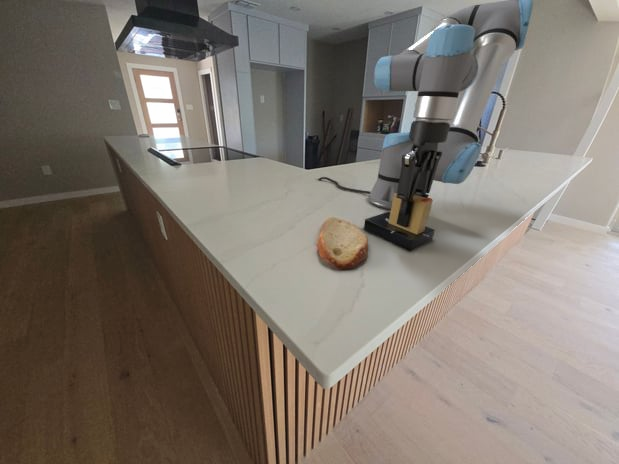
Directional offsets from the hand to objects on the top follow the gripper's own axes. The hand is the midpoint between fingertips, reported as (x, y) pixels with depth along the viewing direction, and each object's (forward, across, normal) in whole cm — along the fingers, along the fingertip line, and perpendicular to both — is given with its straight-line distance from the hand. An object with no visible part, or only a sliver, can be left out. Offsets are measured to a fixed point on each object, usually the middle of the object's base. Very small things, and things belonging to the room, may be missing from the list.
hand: (406, 223), depth 63 cm
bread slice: (+4, +16, -8) cm, 18 cm away
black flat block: (+4, 0, -2) cm, 5 cm away
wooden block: (+1, 0, 0) cm, 1 cm away
